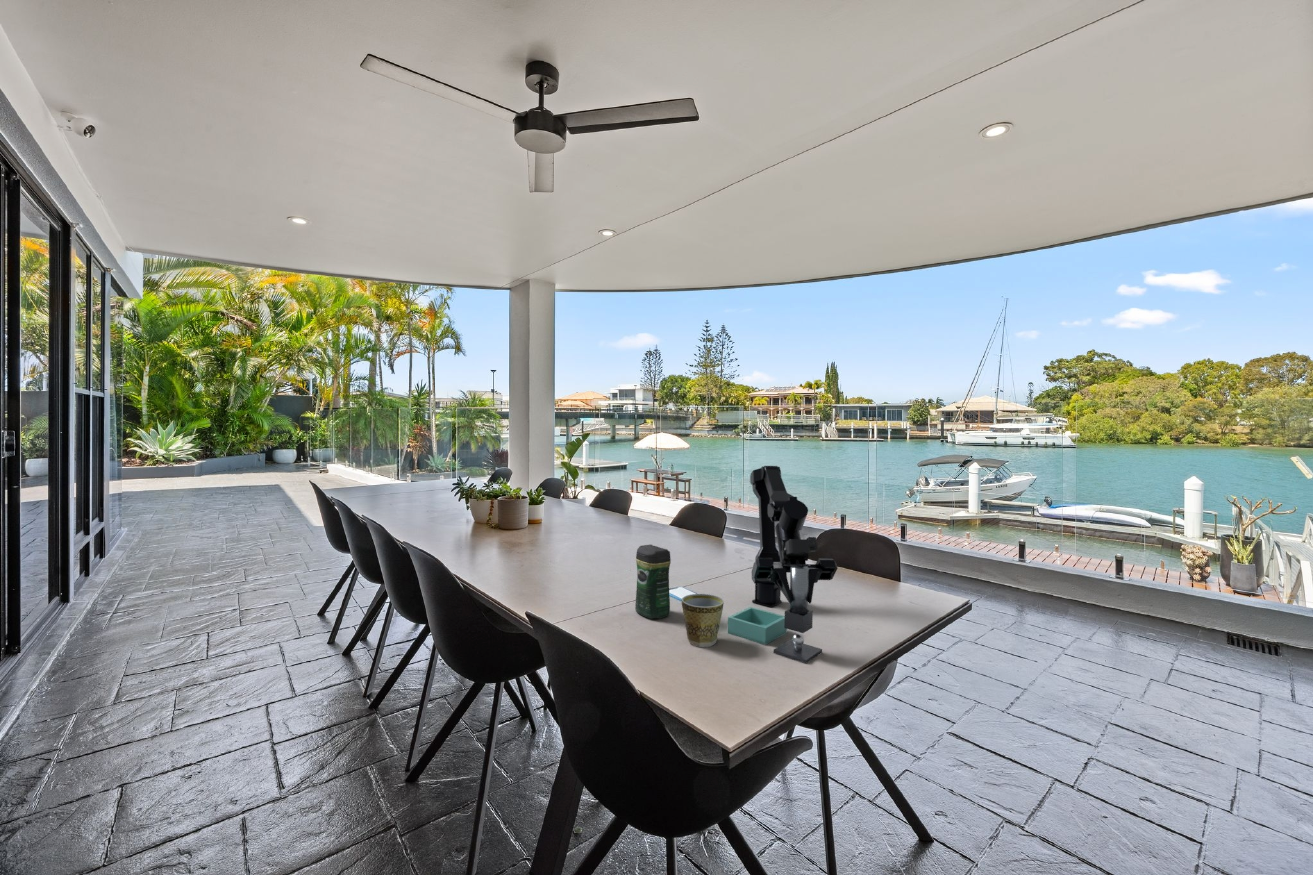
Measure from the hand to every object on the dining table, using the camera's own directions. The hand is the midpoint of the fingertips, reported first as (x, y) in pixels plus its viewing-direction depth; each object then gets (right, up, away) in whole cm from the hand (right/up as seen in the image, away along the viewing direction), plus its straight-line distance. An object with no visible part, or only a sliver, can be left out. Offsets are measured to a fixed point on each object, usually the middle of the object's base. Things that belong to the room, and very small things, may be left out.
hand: (800, 602), depth 122 cm
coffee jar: (-33, -11, +26) cm, 44 cm away
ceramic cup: (-22, -12, +9) cm, 26 cm away
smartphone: (-23, -11, +41) cm, 48 cm away
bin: (-7, -12, +13) cm, 19 cm away
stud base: (0, -12, +2) cm, 12 cm away
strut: (0, -6, +2) cm, 6 cm away
